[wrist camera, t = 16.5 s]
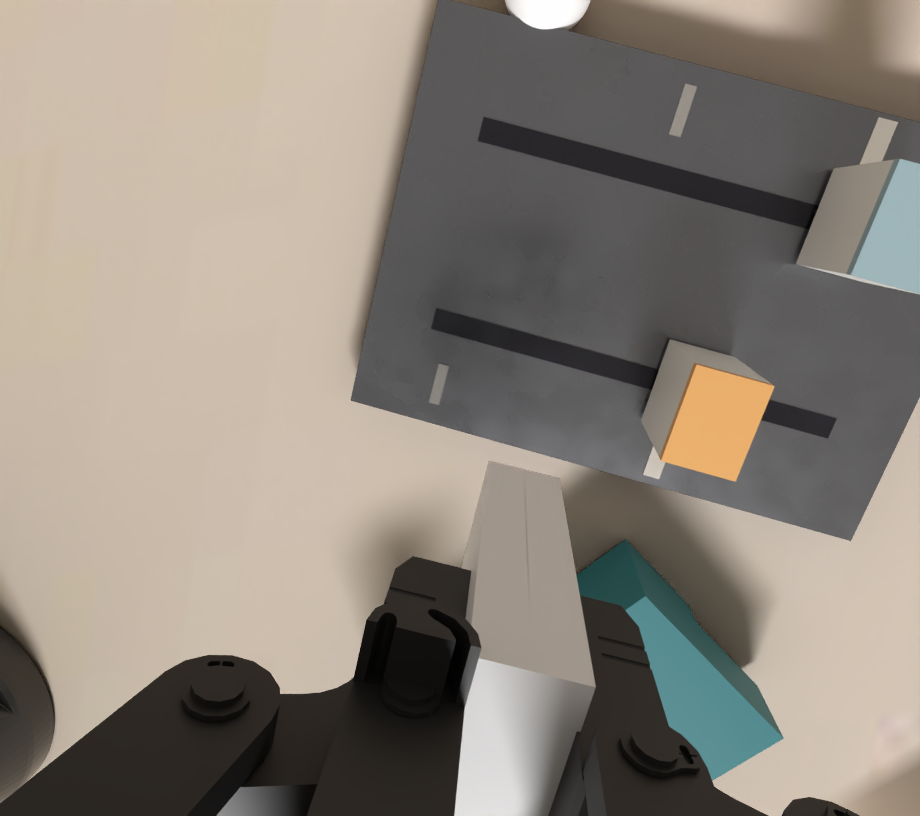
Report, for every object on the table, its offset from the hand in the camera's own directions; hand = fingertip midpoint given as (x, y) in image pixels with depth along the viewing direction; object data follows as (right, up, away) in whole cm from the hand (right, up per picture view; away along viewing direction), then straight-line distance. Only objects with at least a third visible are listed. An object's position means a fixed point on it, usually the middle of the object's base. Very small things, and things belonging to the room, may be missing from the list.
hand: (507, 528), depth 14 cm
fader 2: (+15, +10, +15) cm, 23 cm away
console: (+8, +8, +18) cm, 22 cm away
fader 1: (+9, +3, +17) cm, 20 cm away
